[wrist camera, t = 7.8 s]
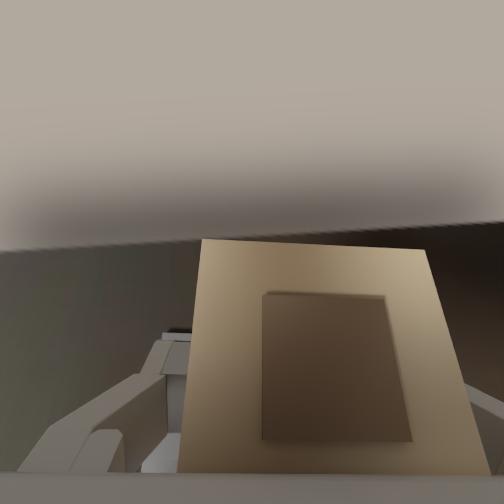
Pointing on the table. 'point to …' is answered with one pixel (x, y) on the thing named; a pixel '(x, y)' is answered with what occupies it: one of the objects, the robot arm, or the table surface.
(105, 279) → the table surface
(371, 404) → the block
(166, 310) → the table surface
